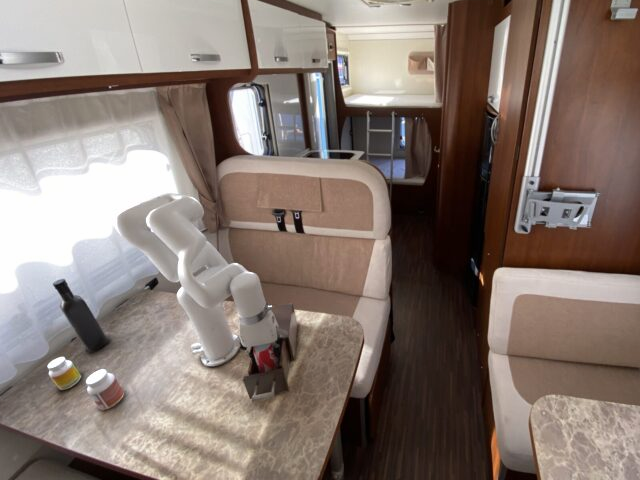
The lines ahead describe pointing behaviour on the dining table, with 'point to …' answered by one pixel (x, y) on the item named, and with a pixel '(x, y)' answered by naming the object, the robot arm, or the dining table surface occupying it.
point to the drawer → (268, 377)
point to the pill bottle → (104, 389)
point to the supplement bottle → (63, 373)
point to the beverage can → (266, 358)
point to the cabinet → (287, 324)
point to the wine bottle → (80, 317)
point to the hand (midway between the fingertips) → (266, 355)
